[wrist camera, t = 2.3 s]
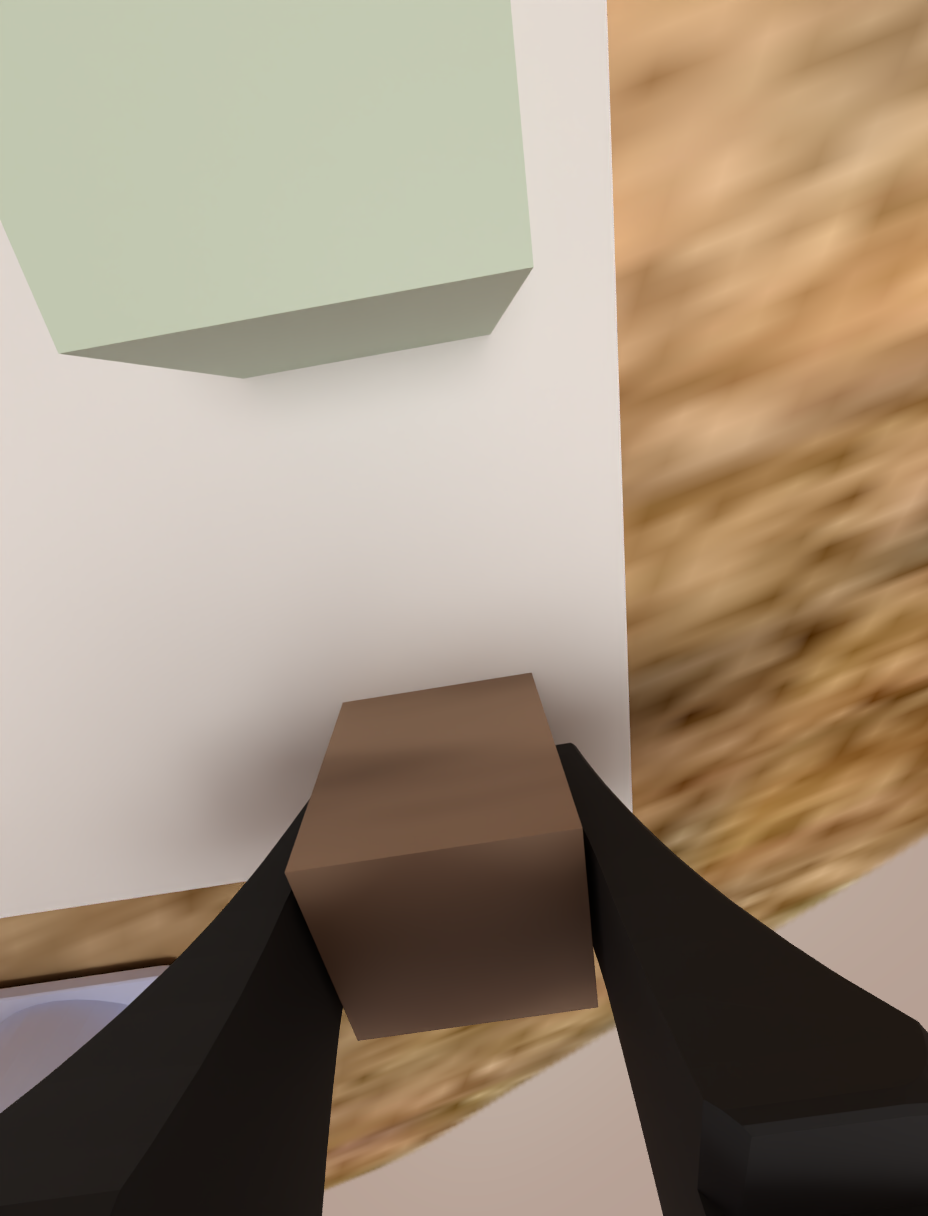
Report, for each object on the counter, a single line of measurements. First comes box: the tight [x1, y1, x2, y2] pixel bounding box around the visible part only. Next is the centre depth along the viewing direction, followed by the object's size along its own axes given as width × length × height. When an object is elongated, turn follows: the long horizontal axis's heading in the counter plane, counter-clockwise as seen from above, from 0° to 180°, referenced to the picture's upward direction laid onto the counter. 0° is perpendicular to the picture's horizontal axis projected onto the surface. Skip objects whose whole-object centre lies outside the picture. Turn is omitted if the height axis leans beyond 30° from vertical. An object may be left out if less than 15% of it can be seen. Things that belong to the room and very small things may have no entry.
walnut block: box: [285, 673, 598, 1041], centre depth 10 cm, size 4×4×4 cm
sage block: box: [0, 0, 534, 379], centre depth 6 cm, size 4×4×4 cm
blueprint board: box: [0, 0, 633, 918], centre depth 10 cm, size 18×24×1 cm
